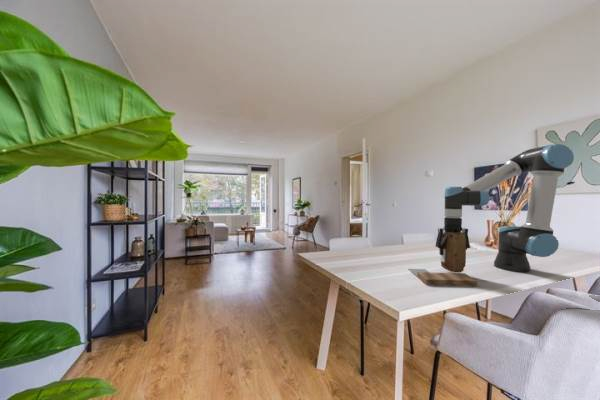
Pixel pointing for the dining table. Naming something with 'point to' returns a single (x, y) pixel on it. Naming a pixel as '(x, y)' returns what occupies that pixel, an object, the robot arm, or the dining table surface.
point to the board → (447, 279)
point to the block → (454, 252)
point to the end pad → (417, 271)
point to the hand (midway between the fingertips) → (452, 261)
